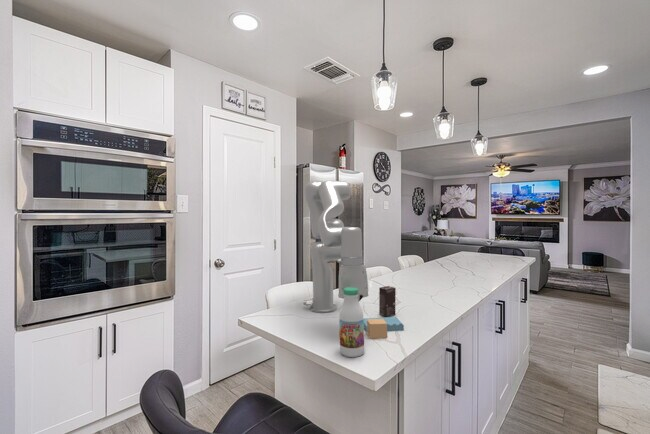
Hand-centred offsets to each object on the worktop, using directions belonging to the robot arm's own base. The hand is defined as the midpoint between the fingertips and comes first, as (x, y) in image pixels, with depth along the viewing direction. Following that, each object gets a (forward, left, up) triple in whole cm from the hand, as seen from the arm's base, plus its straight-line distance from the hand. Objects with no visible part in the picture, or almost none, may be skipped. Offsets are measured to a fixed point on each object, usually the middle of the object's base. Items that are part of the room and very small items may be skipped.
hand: (353, 313), depth 103 cm
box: (+18, +22, -9) cm, 30 cm away
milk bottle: (-3, -11, -9) cm, 14 cm away
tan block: (+8, +1, -8) cm, 12 cm away
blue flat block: (+12, +9, -8) cm, 17 cm away
